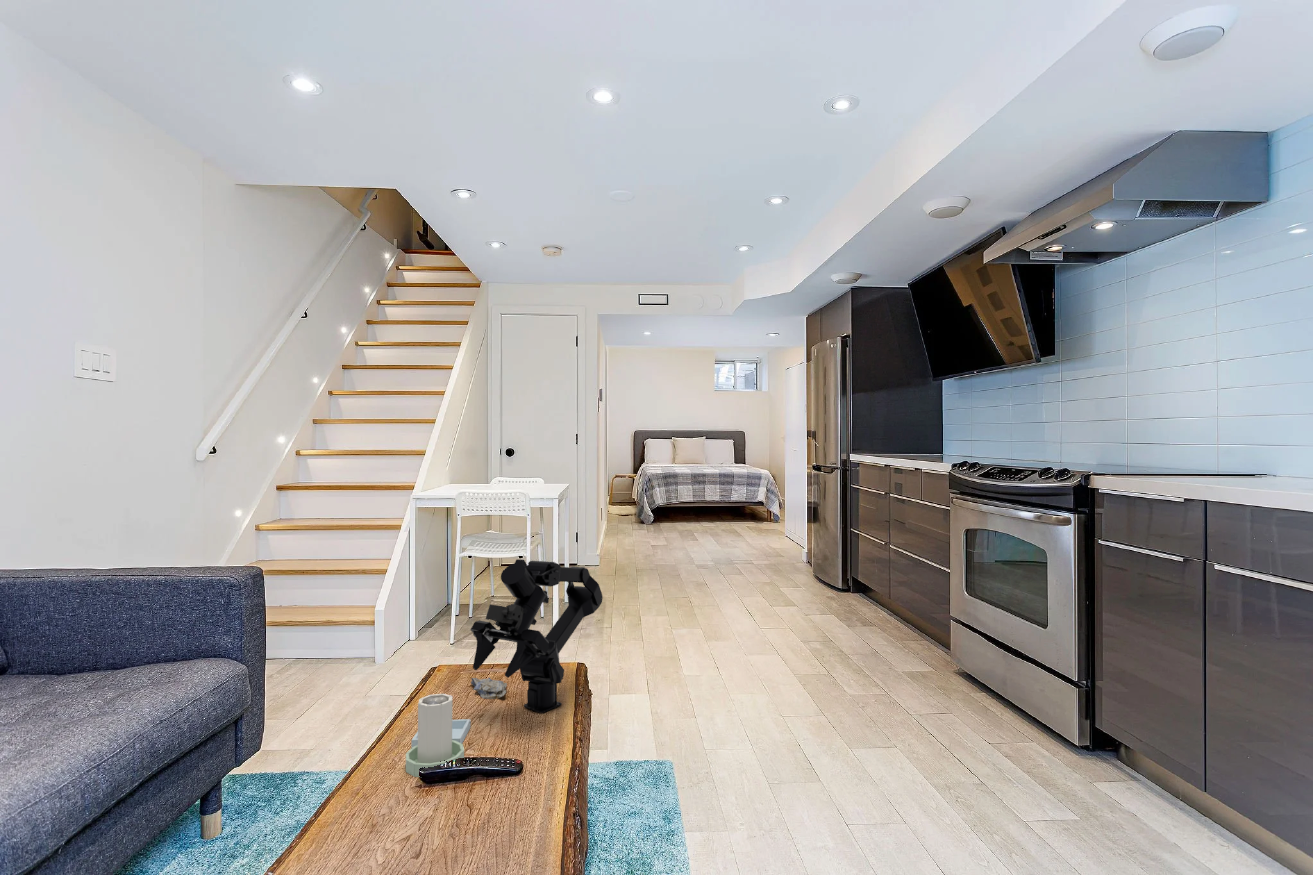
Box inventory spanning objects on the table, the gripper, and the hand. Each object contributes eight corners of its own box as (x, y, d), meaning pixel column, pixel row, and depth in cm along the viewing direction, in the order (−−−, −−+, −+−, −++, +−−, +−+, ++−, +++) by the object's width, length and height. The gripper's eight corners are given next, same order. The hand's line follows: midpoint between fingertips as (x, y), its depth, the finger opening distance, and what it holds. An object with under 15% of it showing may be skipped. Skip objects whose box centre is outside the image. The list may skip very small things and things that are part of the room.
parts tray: (424, 732, 139) (425, 720, 139) (470, 730, 139) (470, 719, 139) (411, 752, 129) (411, 739, 129) (460, 751, 130) (460, 738, 130)
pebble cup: (436, 753, 127) (437, 689, 127) (458, 760, 124) (459, 695, 124) (410, 766, 122) (411, 699, 122) (433, 774, 119) (434, 705, 119)
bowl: (442, 750, 130) (442, 735, 130) (474, 765, 124) (474, 749, 124) (394, 769, 122) (394, 753, 122) (426, 787, 116) (426, 770, 116)
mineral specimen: (510, 701, 157) (510, 684, 157) (474, 706, 154) (474, 688, 154) (503, 681, 171) (503, 665, 171) (470, 685, 168) (470, 669, 168)
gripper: (476, 584, 147) (438, 646, 137) (540, 593, 137) (504, 660, 128) (501, 611, 153) (466, 672, 144) (563, 621, 144) (530, 687, 134)
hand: (490, 672), depth 137 cm, fingers open, 9 cm apart
